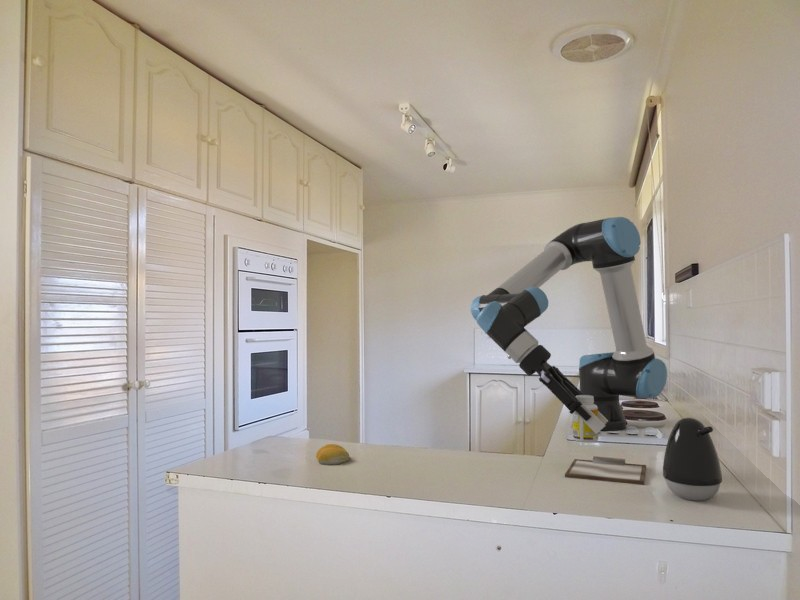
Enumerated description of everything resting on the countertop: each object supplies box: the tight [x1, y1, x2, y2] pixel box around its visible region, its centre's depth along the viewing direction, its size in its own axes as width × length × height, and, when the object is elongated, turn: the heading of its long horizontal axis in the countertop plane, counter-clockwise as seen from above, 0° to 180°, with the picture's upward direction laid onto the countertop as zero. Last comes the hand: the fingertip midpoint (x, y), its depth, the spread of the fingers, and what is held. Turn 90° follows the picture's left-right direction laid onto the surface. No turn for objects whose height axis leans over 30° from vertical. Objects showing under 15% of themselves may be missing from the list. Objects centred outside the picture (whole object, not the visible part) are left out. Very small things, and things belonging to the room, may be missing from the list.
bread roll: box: [315, 443, 350, 465], centre depth 144 cm, size 8×9×4 cm
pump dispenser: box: [662, 417, 723, 502], centre depth 109 cm, size 10×10×15 cm
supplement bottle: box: [572, 395, 600, 444], centre depth 130 cm, size 6×6×10 cm
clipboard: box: [564, 455, 647, 485], centre depth 127 cm, size 14×16×2 cm
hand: (602, 427), depth 128 cm, fingers closed on supplement bottle, 5 cm apart
